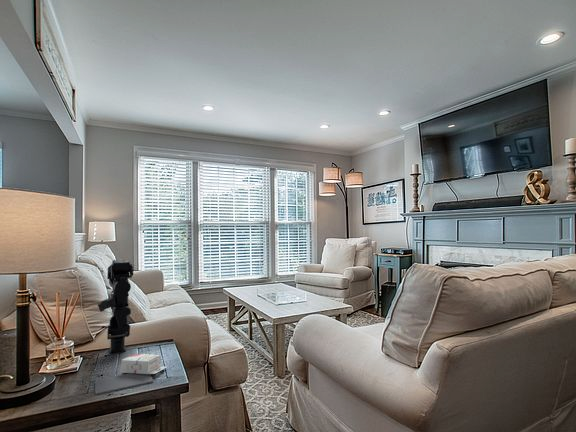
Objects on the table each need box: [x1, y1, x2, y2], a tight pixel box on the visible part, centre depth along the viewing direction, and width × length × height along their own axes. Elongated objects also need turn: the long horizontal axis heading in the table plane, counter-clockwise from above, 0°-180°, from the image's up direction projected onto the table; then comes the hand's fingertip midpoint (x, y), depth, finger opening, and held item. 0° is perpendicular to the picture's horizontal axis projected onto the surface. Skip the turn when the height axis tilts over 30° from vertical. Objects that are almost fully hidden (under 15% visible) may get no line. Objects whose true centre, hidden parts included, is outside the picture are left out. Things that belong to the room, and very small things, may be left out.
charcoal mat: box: [94, 373, 154, 396], centre depth 119 cm, size 11×18×1 cm, turn 121°
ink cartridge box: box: [120, 353, 168, 375], centre depth 128 cm, size 9×5×15 cm
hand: (120, 328), depth 139 cm, fingers closed
